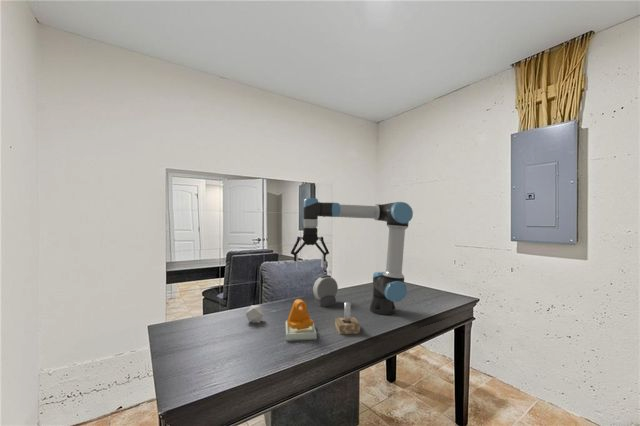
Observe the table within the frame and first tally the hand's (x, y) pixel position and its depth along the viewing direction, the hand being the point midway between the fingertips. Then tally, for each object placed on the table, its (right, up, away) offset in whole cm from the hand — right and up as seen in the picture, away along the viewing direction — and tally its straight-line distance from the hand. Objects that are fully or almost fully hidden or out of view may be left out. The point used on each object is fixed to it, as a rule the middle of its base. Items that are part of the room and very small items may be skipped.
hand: (309, 267), depth 145 cm
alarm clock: (+9, -30, +32) cm, 45 cm away
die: (-29, -29, -1) cm, 40 cm away
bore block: (+19, -29, -9) cm, 36 cm away
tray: (-4, -28, -14) cm, 32 cm away
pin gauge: (+19, -29, -9) cm, 36 cm away
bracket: (-4, -26, -13) cm, 29 cm away
